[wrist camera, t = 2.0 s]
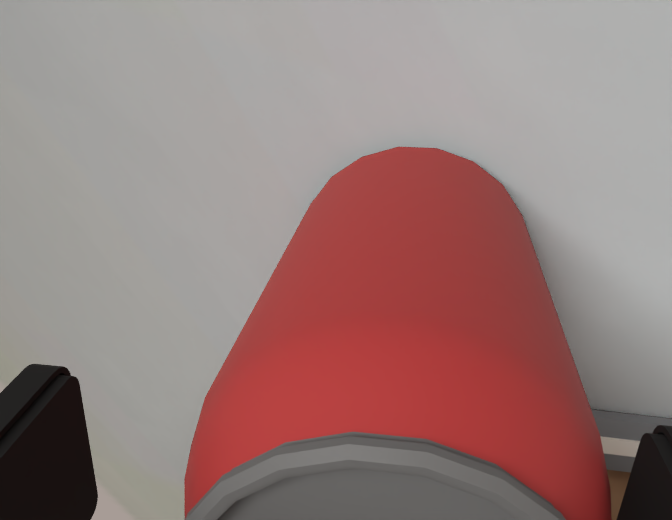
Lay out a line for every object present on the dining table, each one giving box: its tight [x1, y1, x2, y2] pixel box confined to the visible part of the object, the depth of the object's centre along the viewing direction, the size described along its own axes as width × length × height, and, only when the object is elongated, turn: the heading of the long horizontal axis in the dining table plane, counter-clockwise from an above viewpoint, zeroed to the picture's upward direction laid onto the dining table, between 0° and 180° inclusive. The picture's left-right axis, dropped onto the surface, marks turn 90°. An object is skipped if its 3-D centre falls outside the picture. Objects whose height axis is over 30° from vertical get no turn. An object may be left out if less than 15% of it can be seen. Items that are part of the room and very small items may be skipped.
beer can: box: [185, 147, 612, 520], centre depth 13 cm, size 7×7×12 cm
